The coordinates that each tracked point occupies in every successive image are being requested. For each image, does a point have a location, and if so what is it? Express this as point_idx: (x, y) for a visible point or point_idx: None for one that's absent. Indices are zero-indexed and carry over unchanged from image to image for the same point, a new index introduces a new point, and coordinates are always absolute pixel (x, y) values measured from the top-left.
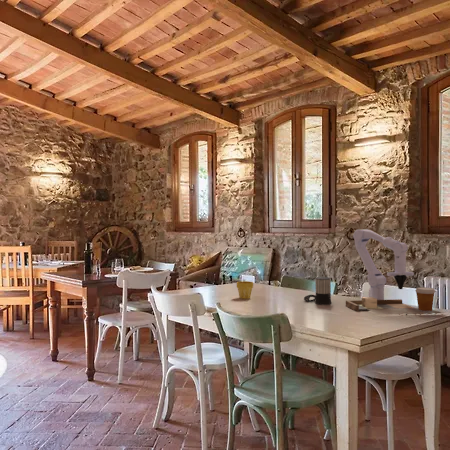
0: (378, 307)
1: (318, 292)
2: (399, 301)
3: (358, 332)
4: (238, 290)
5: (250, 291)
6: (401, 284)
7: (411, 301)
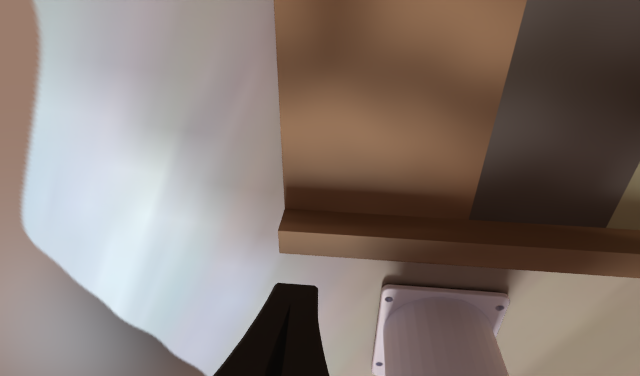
0: None
1: None
2: (311, 221)
3: None
4: None
5: None
6: (276, 356)
7: (150, 311)
